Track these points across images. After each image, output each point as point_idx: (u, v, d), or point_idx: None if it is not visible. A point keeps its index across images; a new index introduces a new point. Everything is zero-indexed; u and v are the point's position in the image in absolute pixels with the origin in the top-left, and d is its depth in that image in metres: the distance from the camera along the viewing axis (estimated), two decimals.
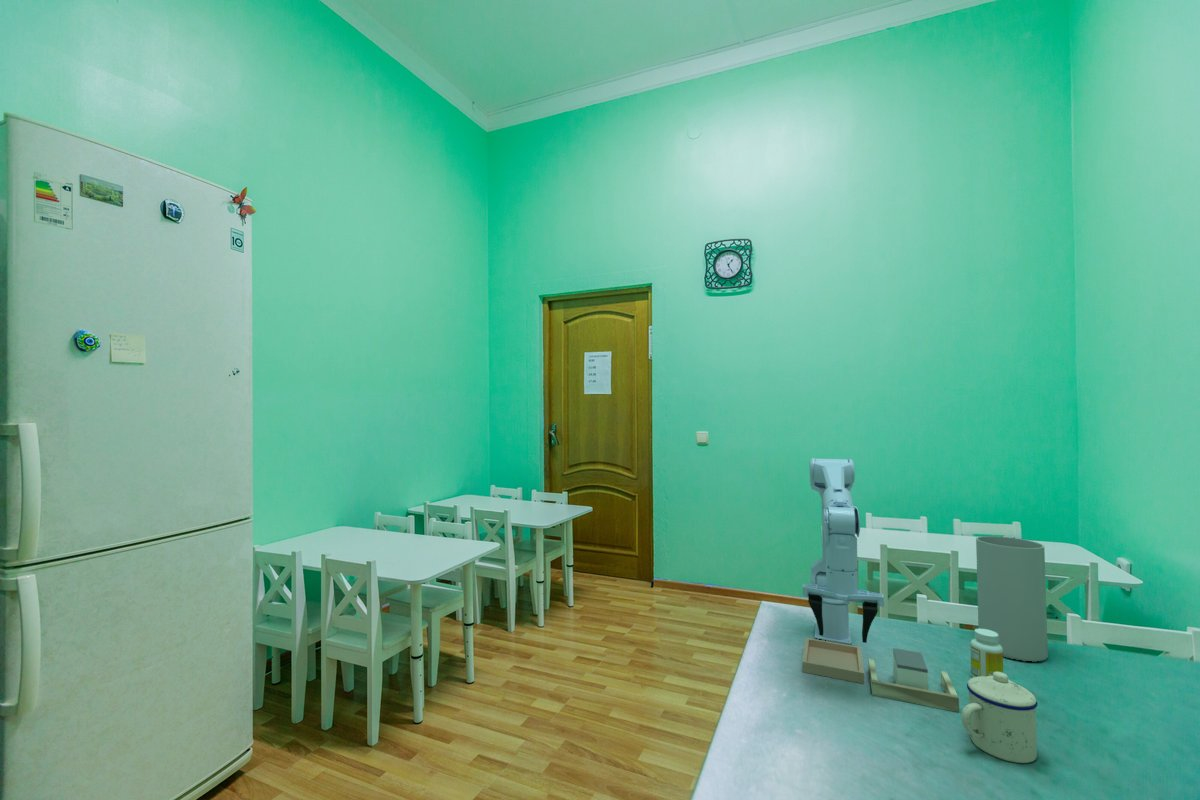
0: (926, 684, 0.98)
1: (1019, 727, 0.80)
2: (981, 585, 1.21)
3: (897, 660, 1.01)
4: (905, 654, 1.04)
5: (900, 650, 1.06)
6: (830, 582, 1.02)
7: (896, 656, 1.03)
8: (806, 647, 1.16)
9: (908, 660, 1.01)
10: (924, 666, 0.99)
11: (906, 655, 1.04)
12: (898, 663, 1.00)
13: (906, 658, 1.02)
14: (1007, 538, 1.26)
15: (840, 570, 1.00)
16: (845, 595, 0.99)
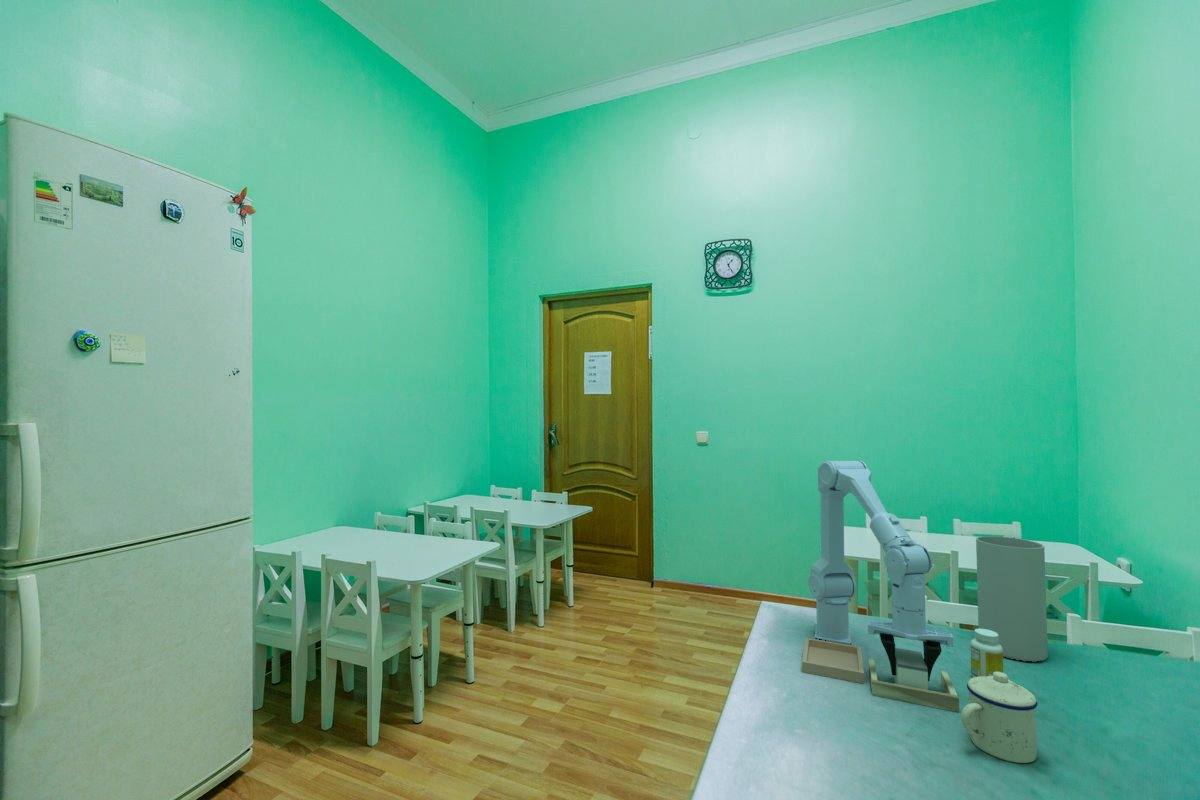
0: (926, 683, 0.98)
1: (1019, 727, 0.80)
2: (981, 585, 1.21)
3: (897, 659, 1.01)
4: (905, 653, 1.04)
5: (900, 649, 1.06)
6: (898, 621, 1.02)
7: (896, 655, 1.03)
8: (806, 647, 1.16)
9: (908, 659, 1.01)
10: (924, 665, 0.99)
11: (906, 654, 1.04)
12: (898, 662, 1.00)
13: (906, 657, 1.02)
14: (1007, 538, 1.26)
15: (909, 610, 1.00)
16: (914, 635, 0.99)
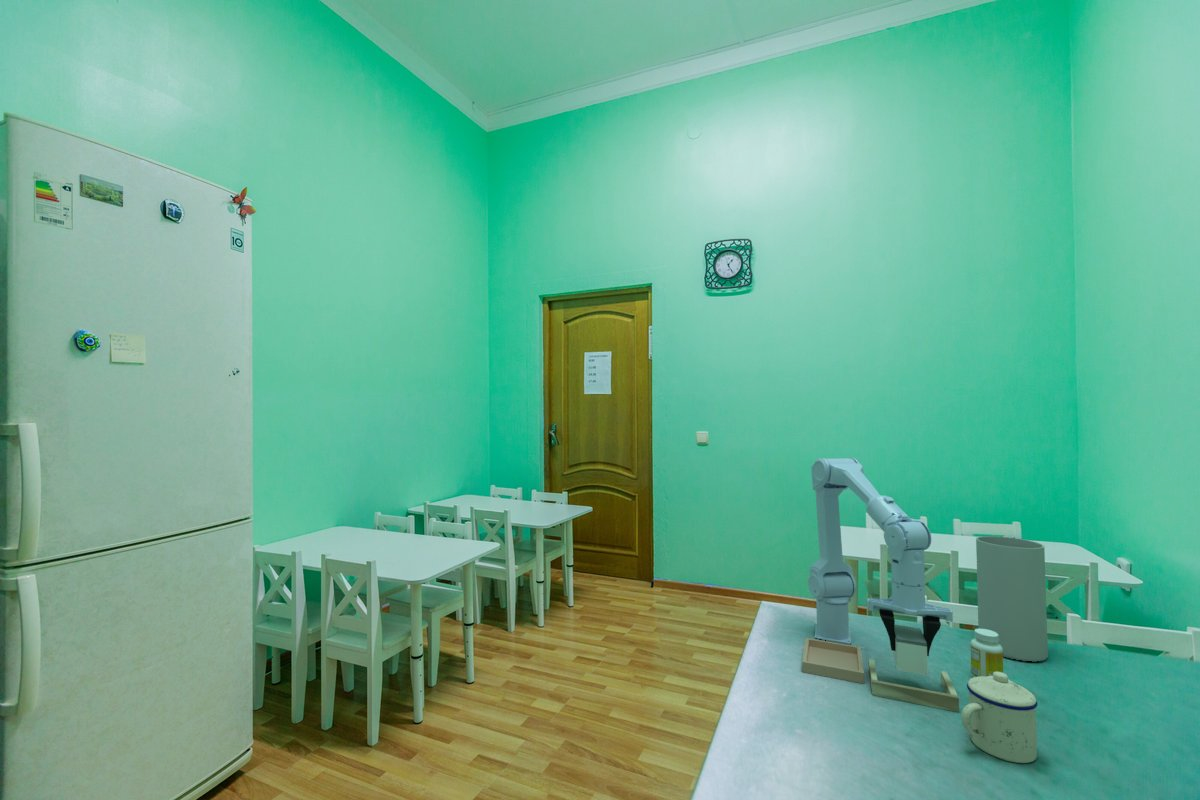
0: (925, 658, 0.98)
1: (1019, 727, 0.80)
2: (981, 585, 1.21)
3: (896, 635, 1.02)
4: (904, 629, 1.04)
5: (899, 626, 1.06)
6: (897, 597, 1.02)
7: (895, 631, 1.03)
8: (806, 647, 1.16)
9: (907, 635, 1.02)
10: (923, 640, 0.99)
11: (905, 630, 1.04)
12: (897, 637, 1.00)
13: (905, 633, 1.03)
14: (1007, 538, 1.26)
15: (908, 585, 1.01)
16: (914, 610, 1.00)
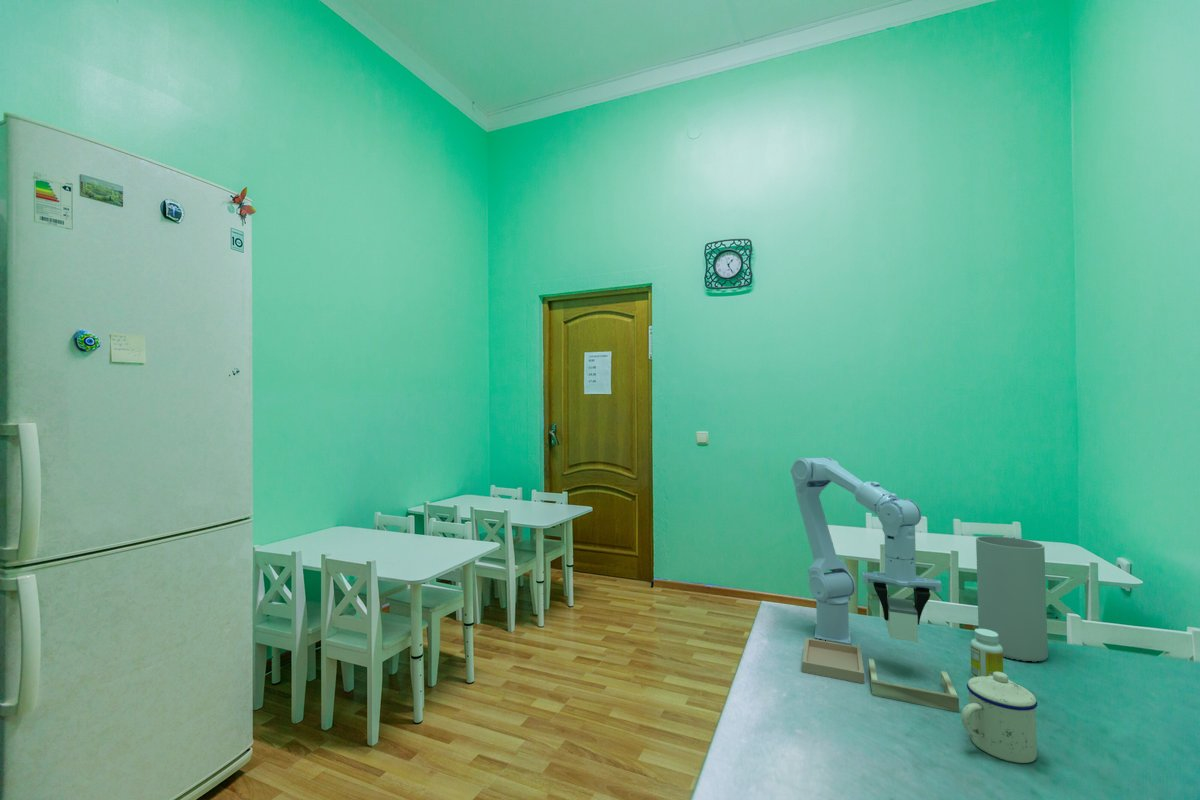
0: (916, 626, 1.05)
1: (1019, 727, 0.80)
2: (981, 585, 1.21)
3: (889, 605, 1.09)
4: (897, 601, 1.12)
5: (892, 598, 1.14)
6: (890, 570, 1.09)
7: (888, 603, 1.11)
8: (806, 647, 1.16)
9: (900, 605, 1.09)
10: (914, 610, 1.07)
11: (898, 602, 1.12)
12: (890, 607, 1.08)
13: (898, 604, 1.10)
14: (1007, 538, 1.26)
15: (900, 558, 1.08)
16: (905, 581, 1.07)
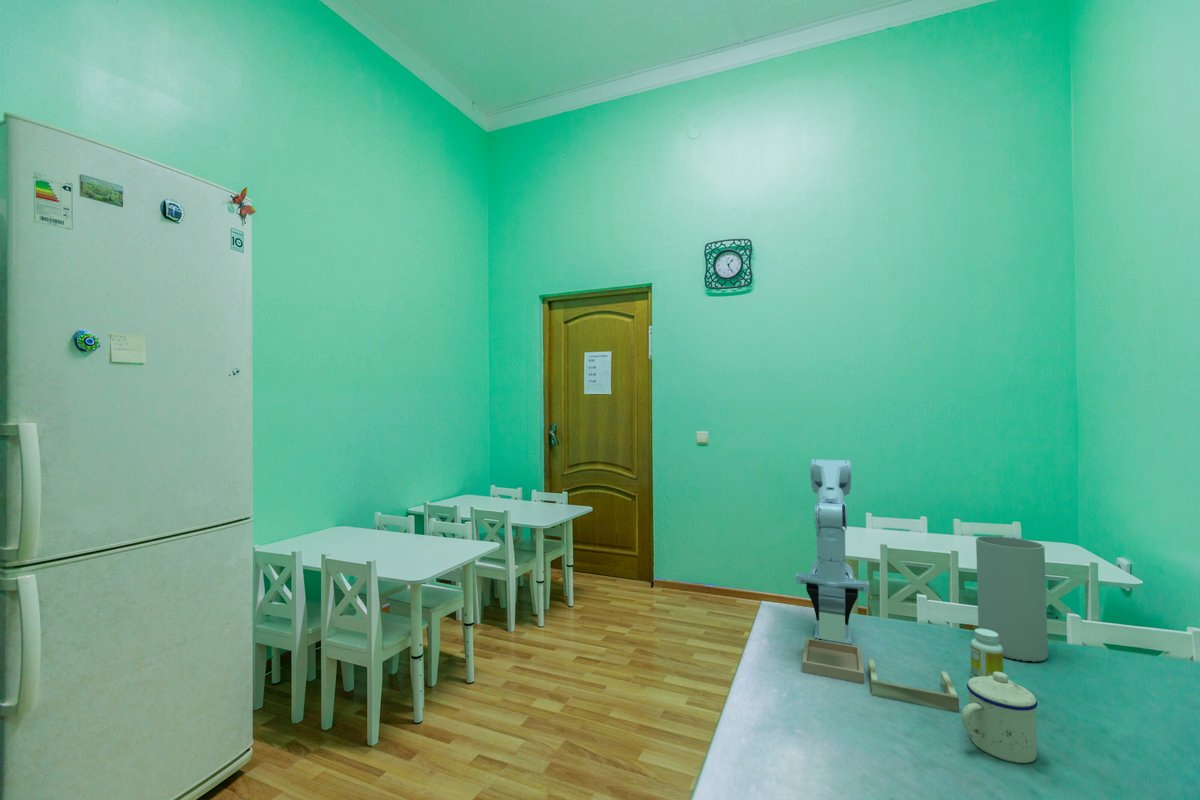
0: (843, 626, 1.08)
1: (1019, 727, 0.80)
2: (981, 585, 1.21)
3: (820, 606, 1.12)
4: (829, 602, 1.15)
5: (826, 599, 1.16)
6: (821, 571, 1.12)
7: (820, 603, 1.14)
8: (806, 647, 1.16)
9: (830, 606, 1.12)
10: (843, 610, 1.09)
11: (829, 602, 1.14)
12: (820, 608, 1.11)
13: (829, 604, 1.13)
14: (1007, 538, 1.26)
15: (830, 560, 1.11)
16: (834, 582, 1.10)
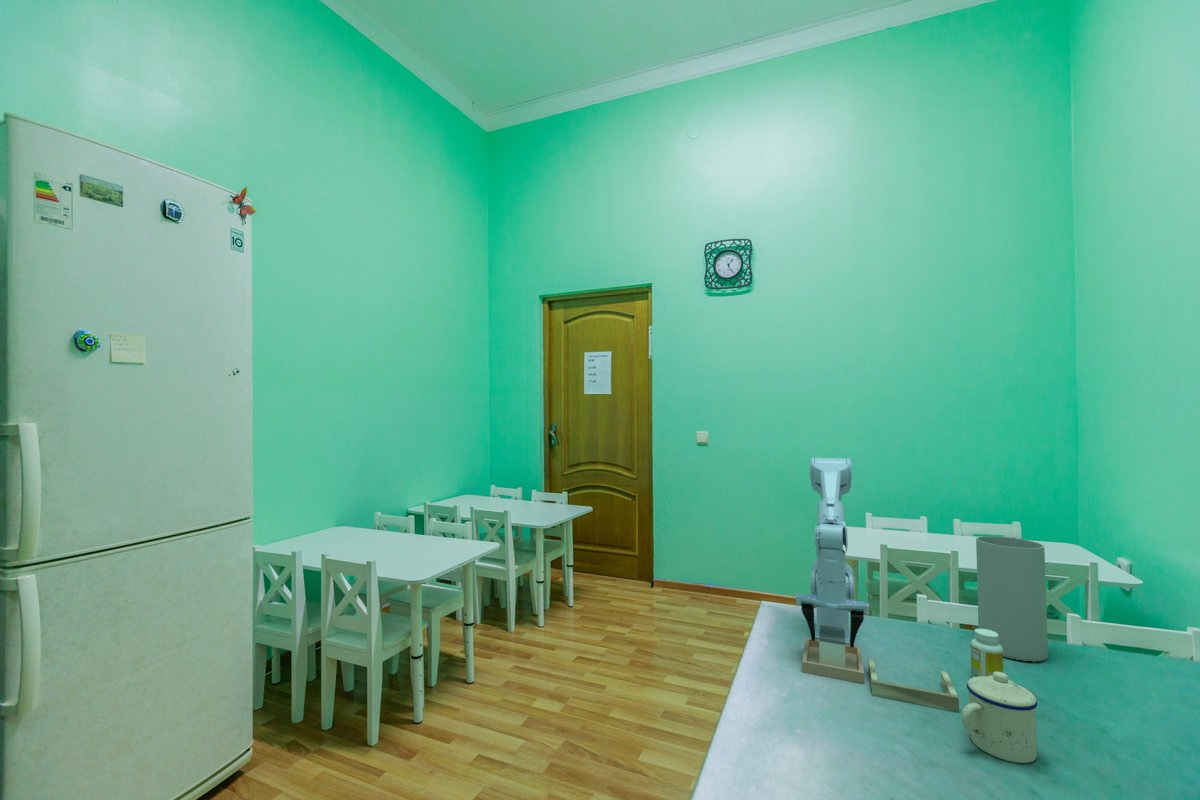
0: (844, 655, 1.08)
1: (1019, 727, 0.80)
2: (981, 585, 1.21)
3: (820, 634, 1.12)
4: (829, 630, 1.14)
5: (826, 626, 1.16)
6: (821, 592, 1.12)
7: (820, 631, 1.13)
8: (806, 647, 1.16)
9: (830, 634, 1.12)
10: (843, 639, 1.09)
11: (830, 630, 1.14)
12: (820, 637, 1.10)
13: (829, 633, 1.13)
14: (1007, 538, 1.26)
15: (830, 582, 1.11)
16: (834, 604, 1.10)
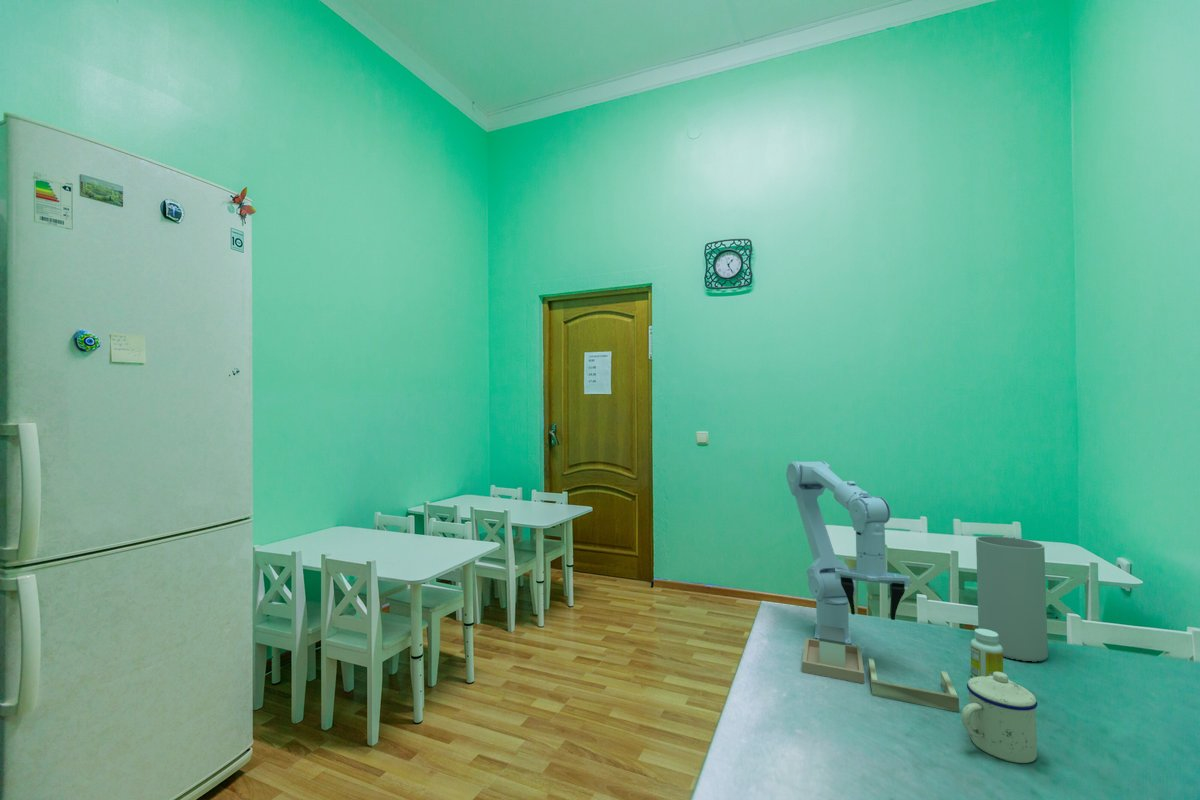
0: (844, 655, 1.08)
1: (1019, 727, 0.80)
2: (981, 585, 1.21)
3: (820, 634, 1.12)
4: (829, 630, 1.14)
5: (826, 626, 1.16)
6: (861, 565, 1.13)
7: (820, 631, 1.13)
8: (806, 647, 1.16)
9: (830, 634, 1.12)
10: (843, 639, 1.09)
11: (830, 630, 1.14)
12: (820, 637, 1.10)
13: (829, 633, 1.13)
14: (1007, 538, 1.26)
15: (870, 554, 1.11)
16: (875, 576, 1.10)
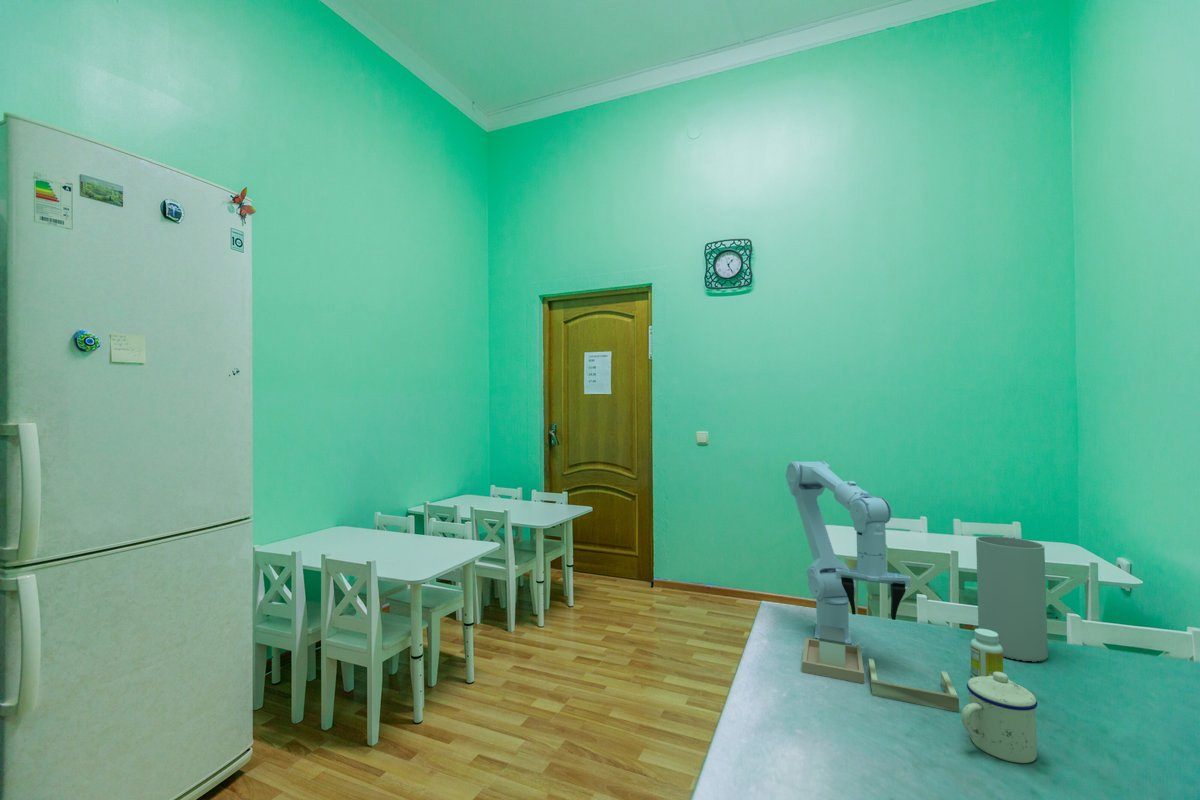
0: (844, 655, 1.08)
1: (1019, 727, 0.80)
2: (981, 585, 1.21)
3: (820, 634, 1.12)
4: (829, 630, 1.14)
5: (826, 626, 1.16)
6: (862, 565, 1.12)
7: (820, 631, 1.13)
8: (806, 647, 1.16)
9: (830, 634, 1.12)
10: (843, 639, 1.09)
11: (830, 630, 1.14)
12: (820, 637, 1.10)
13: (829, 633, 1.13)
14: (1007, 538, 1.26)
15: (871, 554, 1.11)
16: (876, 577, 1.10)
